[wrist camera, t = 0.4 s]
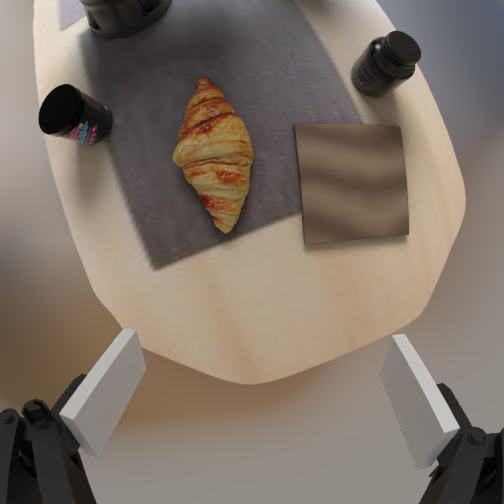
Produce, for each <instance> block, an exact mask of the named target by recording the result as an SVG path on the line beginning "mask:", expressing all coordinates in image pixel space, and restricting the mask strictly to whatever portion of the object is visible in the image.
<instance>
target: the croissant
mask: <svg viewBox="0 0 504 504" xmlns="http://www.w3.org/2000/svg"><path fill="white" fill-rule="evenodd" d="M183 121H184V122H183V123H182V125H181V127H180V128H179V130H178V133H179V134H178V144H177V146H176V147H175V149H174V151H173V154H172V159H173V161H174V162H175V163H176V164H177V165H178V166H180V167H182V170H183V173H184V176H185V179H186V181H187V182H188V183H189V184H191V185H193V187H194V188H195V189H196V191H197V192H198V194H199V196H200V199H201V201H202V204H203V206H204V207H205V208H206V209H207V210H208V211H209V212H210V214H211V215H212V216H213V219H214V223H215V225H216V226H217V227H218V228H220V230H221V231H222V232H224V233H227V232H229V231H231V230H232V229H233V227H234V224H236V222H237V219H239V214H240V211H241V208H242V206H243V204H244V200H245V196H246V195H247V194H248V191H249V184H250V182H249V175H250V167H251V164H252V162H253V160H254V153H253V147H252V143H251V139H250V137H249V133H248V130H247V128H246V126H245V124H244V122H243V121H242V119H241V118H240V117H239V116H238V115H237V114H236V112H235V110H234V109H233V108H232V106H231V105H230V104H229V103H228V102H227V101H226V100H225V99H224V94H223V92H222V90H221V89H220V88H218V87H217V86H216V85H215V84H214V83H213V82H211V80H210V79H209V78H208V77H204V78H201V79H199V80H198V81H197V82H196V84H195V94H194V95H193V96H192V97H191V99H190V101H189V103H188V105H187V107H186V110H185V116H184V120H183Z"/></svg>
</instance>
